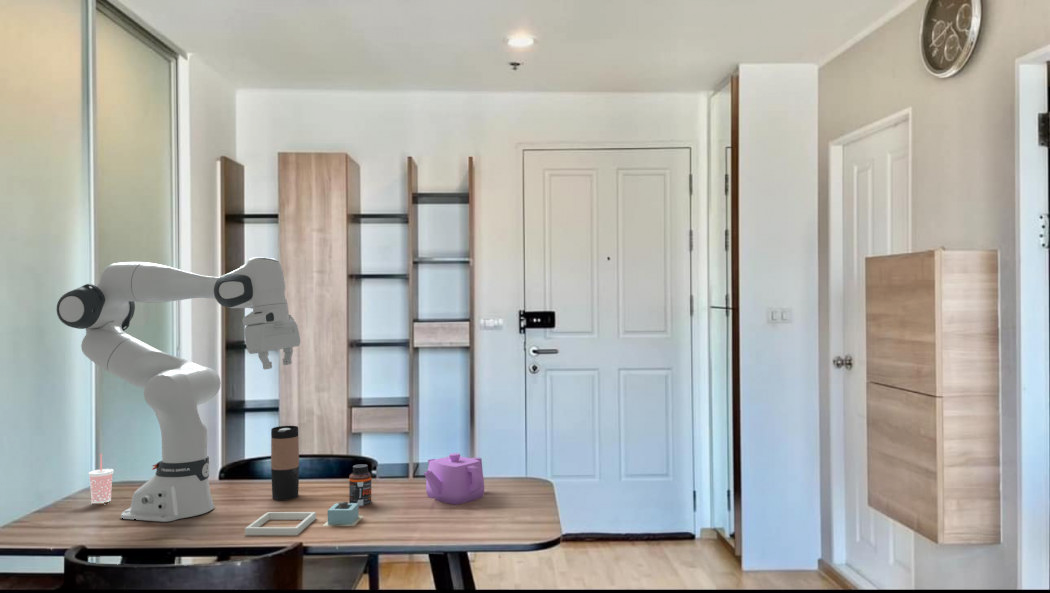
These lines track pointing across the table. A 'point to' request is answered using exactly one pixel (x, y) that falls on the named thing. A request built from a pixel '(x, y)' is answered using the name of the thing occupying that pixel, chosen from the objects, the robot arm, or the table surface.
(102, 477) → the beverage cup
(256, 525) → the white square frame
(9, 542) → the table surface
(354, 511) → the collar
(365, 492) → the supplement bottle
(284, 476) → the travel mug
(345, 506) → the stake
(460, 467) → the teakettle
